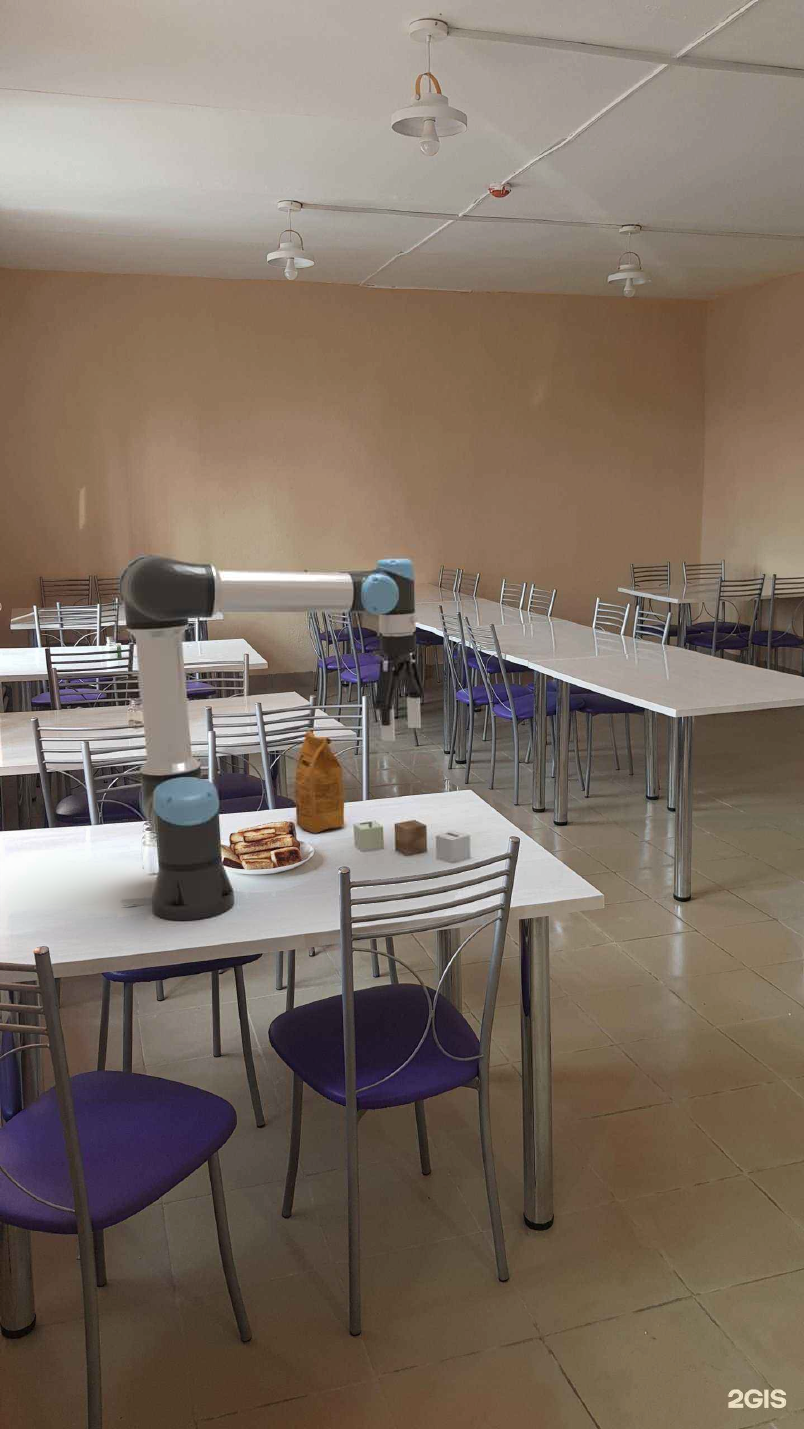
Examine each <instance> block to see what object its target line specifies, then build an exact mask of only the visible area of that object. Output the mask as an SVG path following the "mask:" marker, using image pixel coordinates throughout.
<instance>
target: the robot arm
mask: <svg viewBox="0 0 804 1429" xmlns="http://www.w3.org/2000/svg"><path fill="white" fill-rule="evenodd" d="M415 581H416V579H415V572H414V565H413V562H412V561H411V560H410V558H409V559H408V558H387V559H379V560H378V561H377V562H376V568H375V569H371V570H355V571H353V570H352V571H350V570H349V571H336V572H317V571H314V572H313V571H311V572H310V571H272V570H270V571H267V570H228V569H227V570H226V569H220V570H219V569H216V567H214V565H213V564H209V563H207V564H206V563H193V562H189V561H187V562H186V561H182V560H178V559H174V558H170V557H165V556H162V555H152V554H151V555H150V554H149V555H143V556H141V557H137V558H136V559H134V560H133V561H130V563H129V564H127V566H126V567H125V569H124V570H123V571H122V574H121V576H120V579H119V583H118V584H119V585H118V592H119V595H120V599H121V601H122V603H123V607H124V608H123V609H124V616H125V618H124V619H125V626H126V627H125V628H126V631H127V632H128V633H130V634H131V635H132V636H133V637H134V638H135V644H136V646H135V647H136V656H137V667H138V676H139V679H138V680H139V687H140V688H139V689H140V698H141V709H142V720H143V732H144V742H145V751H146V752H145V753H146V754H145V755H146V761H145V762H144V763H143V765H141V767H140V769H139V772H140V773H139V775H140V782H141V783H140V784H141V788H140V791H139V799H138V800H139V801H138V802H139V807H140V811H141V813H142V815H143V817H144V818H145V820H146V821H147V822H148V824H149V825H150V826H151V828H152V830H154V832H155V838H156V840H155V841H156V852H157V860H158V861H157V863H158V871H157V876H156V880H155V884H154V888H153V891H152V896H151V908H152V913H153V914H154V915H155V916H158V917H159V918H162V919H166V920H172V921H173V920H174V921H191V920H193V921H194V920H199V919H205V918H210V917H213V916H216V915H220V914H222V913H224V912H227V911H228V910H229V909H231V908H232V907H233V906H234V904H235V894H234V893H235V892H234V888H233V886H232V884H231V881H230V879H229V876H228V874H227V872H226V869H225V867H224V864H223V857H222V856H223V855H222V844H221V843H222V841H221V840H222V839H221V838H222V837H221V826H220V810H219V807H220V799H219V796H218V792H217V791H218V790H217V788H216V786H215V784H214V783H212V782H211V781H209V780H207V779H203V778H202V768H201V762H200V761H198V760H197V759H196V758H195V757H194V756H193V755H192V743H191V732H190V731H191V730H190V719H189V708H188V707H189V706H188V696H187V695H188V694H187V684H186V672H185V660H184V650H183V649H184V648H183V638H182V635H183V633H184V632H185V631H186V630H187V628H188V627H189V625H190V624H189V619H199V618H200V619H201V618H203V619H207V618H209V619H211V618H213V617H214V616H215V615H216V614H217V613H338V614H339V613H343V614H344V613H345V614H346V613H350V614H371V615H374V616H375V615H378V619H379V621H378V624H379V625H378V626H379V633H380V634H382V635H380V637H379V642H380V643H379V646H380V653H381V654H383V655H386V656H387V657H386V658H387V660H380V662H379V675H378V681H377V689H376V693H375V701H374V709H375V710H378V711H379V710H380V728H381V729H380V731H381V732H380V733H381V735H380V736H381V741H383V742H384V741H386V742H395V741H396V730H395V729H396V727H395V709H394V708H393V705H394V701H395V697H396V693H397V690H398V686H399V683H401V682H402V683H403V685H404V688H405V691H406V693H407V695H408V697H407V698H406V704H407V705H406V708H407V709H406V710H407V728H408V729H409V728H410V729H411V728H412V729H421V728H422V720H421V698H424V697H425V686H424V683H423V679H422V675H421V671H420V667H419V664H418V654H417V653H416V651H417V636H416V634H415V632H416V631H417V630H416V623H417V622H418V619H417V618H416V608H415V606H416V604H415V603H416V602H415V596H416V595H415ZM392 708H393V709H392Z"/></svg>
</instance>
